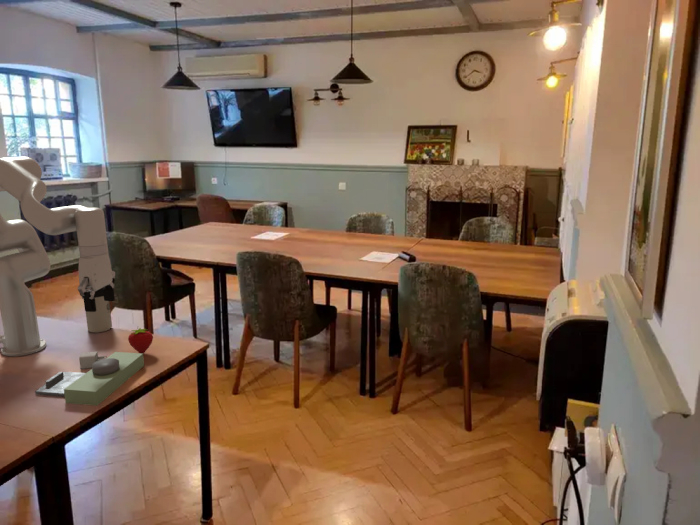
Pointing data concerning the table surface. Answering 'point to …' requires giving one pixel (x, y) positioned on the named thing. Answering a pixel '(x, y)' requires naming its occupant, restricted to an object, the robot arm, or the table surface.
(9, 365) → the table surface
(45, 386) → the grey plate with ledge
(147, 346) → the strawberry
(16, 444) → the table surface
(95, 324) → the travel mug
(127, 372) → the green slab with knob
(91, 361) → the usb wall charger
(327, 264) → the table surface
